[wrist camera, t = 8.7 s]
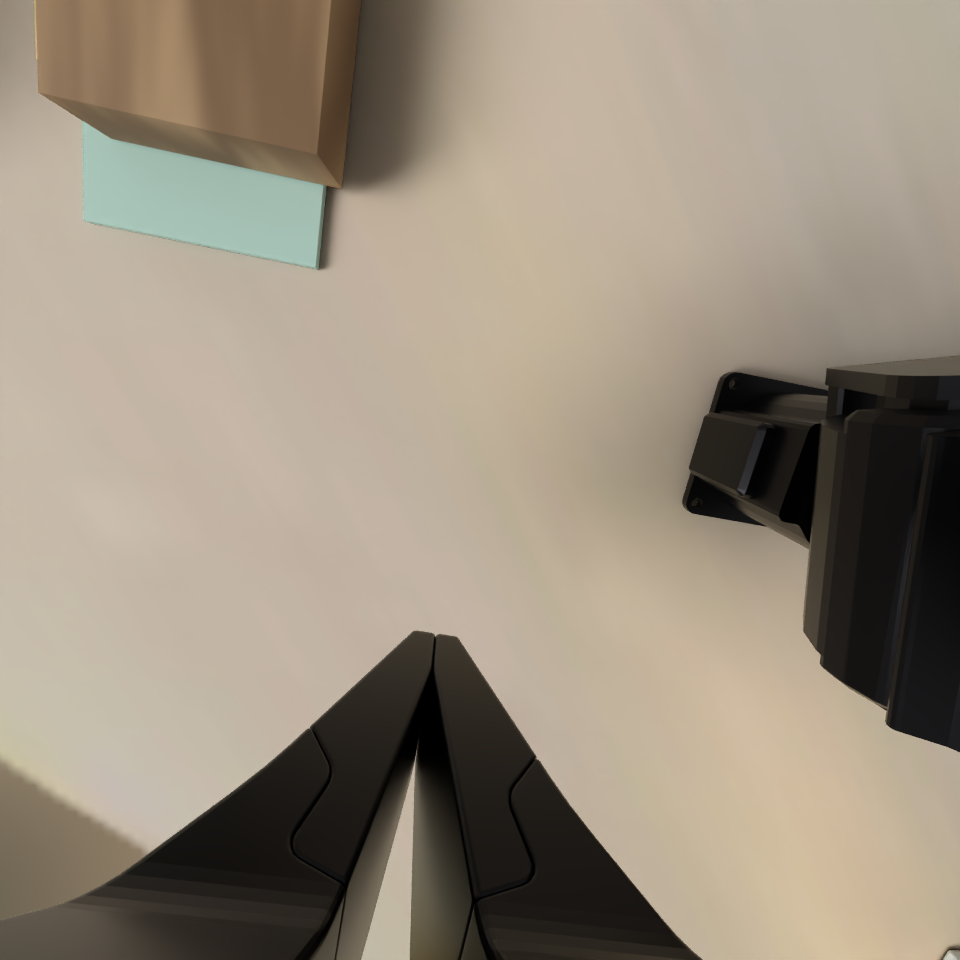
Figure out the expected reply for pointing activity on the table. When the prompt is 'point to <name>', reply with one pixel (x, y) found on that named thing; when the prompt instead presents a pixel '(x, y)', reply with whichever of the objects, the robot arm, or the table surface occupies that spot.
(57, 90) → the menu stand
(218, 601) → the table surface
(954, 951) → the tea box
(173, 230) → the mat
